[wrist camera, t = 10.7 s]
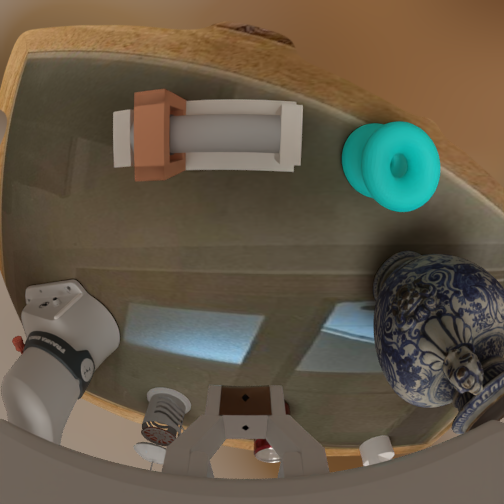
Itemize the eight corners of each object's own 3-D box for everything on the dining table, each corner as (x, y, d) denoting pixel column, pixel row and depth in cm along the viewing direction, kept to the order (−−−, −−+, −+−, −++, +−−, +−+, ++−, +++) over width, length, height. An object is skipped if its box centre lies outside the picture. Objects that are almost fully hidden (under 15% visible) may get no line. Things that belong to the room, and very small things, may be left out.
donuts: (360, 208, 27) (372, 110, 23) (334, 190, 36) (343, 117, 33) (436, 220, 27) (449, 134, 23) (398, 200, 36) (408, 132, 33)
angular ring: (162, 170, 33) (135, 181, 25) (162, 102, 29) (134, 92, 22) (185, 170, 33) (164, 180, 25) (186, 100, 29) (164, 88, 22)
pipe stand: (141, 171, 35) (110, 182, 27) (140, 106, 32) (108, 99, 23) (292, 171, 35) (305, 181, 27) (295, 102, 32) (308, 90, 23)
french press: (162, 381, 50) (130, 491, 27) (207, 409, 53) (192, 514, 30) (138, 397, 53) (105, 492, 30) (180, 422, 56) (161, 515, 33)
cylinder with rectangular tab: (353, 447, 61) (361, 481, 50) (381, 432, 59) (392, 467, 48) (367, 453, 64) (376, 484, 53) (393, 439, 61) (404, 471, 50)
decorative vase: (465, 270, 40) (562, 368, 15) (398, 344, 46) (457, 467, 21) (398, 193, 36) (552, 290, 10) (318, 289, 42) (370, 461, 16)
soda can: (252, 416, 54) (251, 462, 43) (255, 396, 51) (255, 446, 40) (285, 417, 54) (289, 463, 43) (292, 397, 51) (298, 446, 40)
